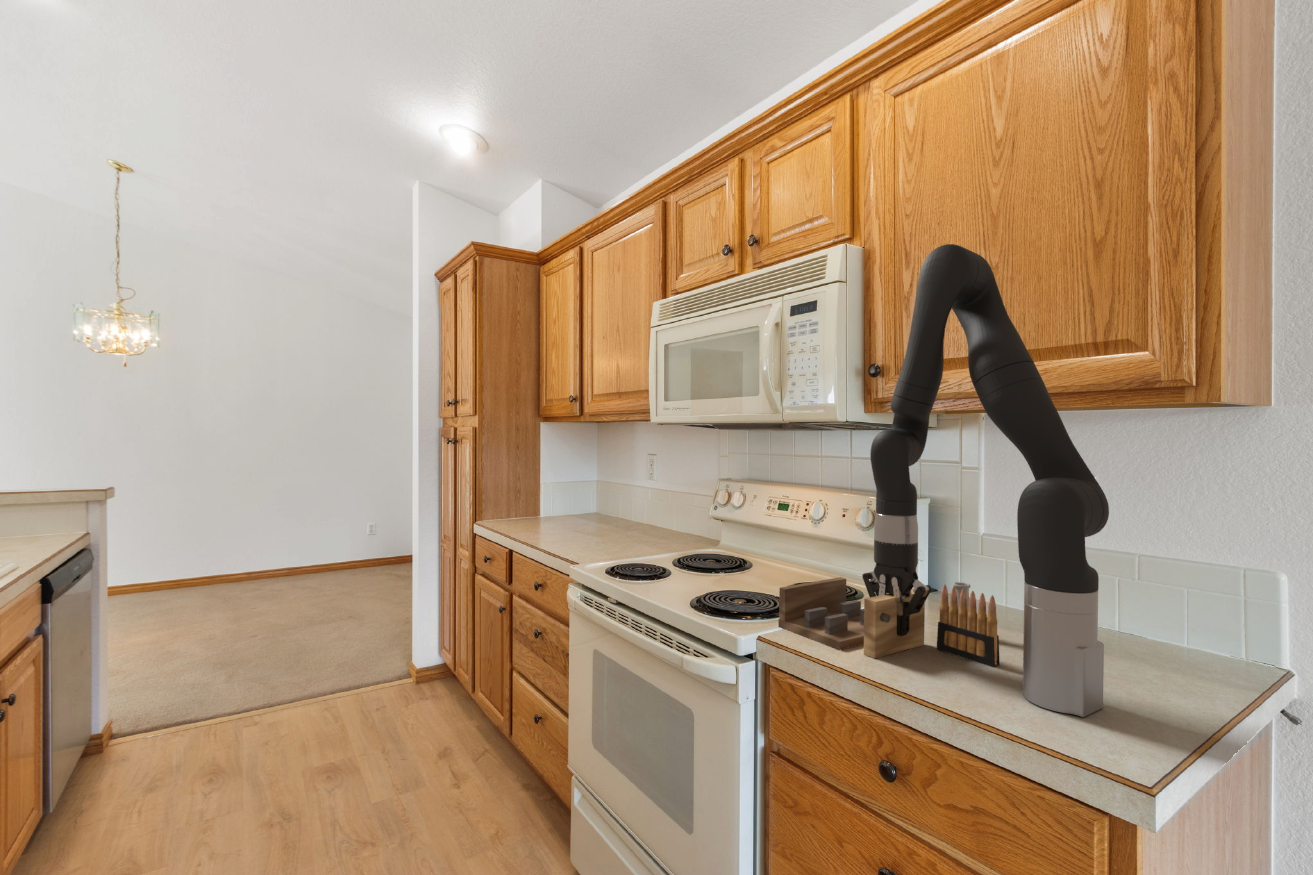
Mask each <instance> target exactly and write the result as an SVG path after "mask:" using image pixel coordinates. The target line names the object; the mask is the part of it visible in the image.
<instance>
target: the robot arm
mask: <svg viewBox="0 0 1313 875" xmlns="http://www.w3.org/2000/svg"><path fill="white" fill-rule="evenodd" d="M918 274H919V275H918V280H917V285H916V292H915V300H914V306H913V312H912V317H911V324H910V331H909V336H908V342H907V347H906V351H905V355H904V358H903V363H902V366H901V369H900V372H899V375H898V379H897V381H896V384H895V388H894V390H893V395H892V397H891V400H890V409H891V411H892V413H893V419H892V422H891V423H892V424H891V428H889V429H886V430H885V429H884V430H882V431H880V432H879V433H877V434H876V435H875V437H874V438H873V439H872V443H871V447H870V456H869V457H870V464H871V471H872V475H873V481H874V485H875V490H876V492H875V494H876V495H875V517H874V518H875V519H874V527H873V528H874V530H873V534H874V535H873V561H874V562H875V566H874V568H873V571H870V572H865V573H862V575H861V577H862V580H863V582H864V585H865V588H866V591H867V593H868V598H870V597H875V596H880V595H886V594H890V593H892V594H894V598H895V602H896V603H897V613H898V615H897V635H899V636H904V635H906V634H907V633H908V632H909V624H910V615H911V614H915V613H919V612H920V610H921V609H922V607H923V605H924V603H925V604H926V600H927V599H928V597H929V595H930V594H931V592H932V586H931V584H925V583H923V582H922V581H920V580H919V576H918V573H917V566H918V564H919V524H918V523H919V522H918V491H917V487H916V485H915V484H913V482H911V476H910V475H911V473H910V467H911V466H914V465H915V464H916V463H917V462H918V461H919V460H920V459H921V457H922V455H923V452H924V451H925V447H926V443H927V438H928V433H929V426H930V415H931V413H932V410H933V407H934V404H935V402H936V399H937V396H938V394H939V389H940V386H941V384H942V380H943V375H944V366H945V365H944V363H945V362H944V358H945V356H944V353H945V352H944V350H945V348H944V344H945V342H944V341H945V334H946V326H947V323H948V318H949V316H950V313H951V311H953V313H954V314H955V316H956V318H957V320H958V322H959V324H960V326H961V327H962V330H963V332H964V334H965V336H966V342H967V359H968V360H967V362H968V363H967V364H968V372H969V376H970V377H969V378H970V380H971V383H972V387H974V391H975V393H976V394H977V397H978V399H979V401H980V404H981V406H982V407H983V409H984V411H985V413H986V414H987V416H988V417H989V419H990V420H991V421H992V422H993V424H994V425H995V426H996V427H997V428H998V430H999V431H1000V432H1001V433H1002V434H1003V435H1004V436H1005V437H1006V438H1007V439H1008V440H1009V441H1010V442H1011V443H1012V444H1013V445H1014V447H1015V448H1016V449H1017V450H1018V451H1019V452H1020V454H1021V455H1022V456H1023V457H1024V459H1025V461H1026V464H1027V465H1028V466H1029V468H1030V470H1031V473H1032V476H1033V477H1034V481H1033V482H1030V483H1029V484H1028V485H1026V487H1025V488H1024V489H1023V491H1022V492H1021V494H1020V496H1019V500H1018V505H1017V520H1016V522H1017V545H1018V546H1017V548H1018V550H1017V552H1018V558H1019V563H1020V565H1021V567H1022V570H1023V575H1024V579H1023V580H1024V581H1023V582H1024V585H1023V587H1024V589H1023V592H1024V593H1023V647H1022V648H1023V649H1022V650H1023V651H1022V656H1023V657H1022V660H1023V661H1022V668H1023V669H1022V695H1023V697H1024V698H1025V699H1026V700H1027V701H1028V702H1030V703H1032V704H1033V705H1036V706H1038V707H1041V708H1044V709H1046V710H1050V711H1054V712H1058V713H1061V714H1062V713H1063V714H1069V715H1074V716H1075V715H1076V716H1078V717H1081V718H1084V717H1087V716H1089V715H1091V714H1093V713H1095V712H1097V711H1099V710H1102V709H1103V708H1104V678H1105V677H1104V676H1105V675H1104V672H1105V671H1104V665H1105V661H1104V660H1105V655H1104V654H1105V644H1104V642H1102V641H1100V640H1098V639H1099V638H1098V635H1099V634H1098V632H1099V630H1098V629H1099V624H1098V623H1099V587H1100V586H1099V583H1100V582H1099V573H1098V571H1097V570H1096V569H1095V568H1094V567H1092V566H1091V565H1090V564H1089V563H1088V559H1087V554H1086V551H1087V550H1086V538H1087V537H1092V536H1095V535H1097V534H1098V533H1100V532H1101V531H1102V530H1103V529H1104V528H1105V526H1106V525H1107V523H1108V520H1109V517H1110V506H1109V502H1108V499H1107V496H1106V494H1105V492H1104V490H1103V489H1102V487H1101V485H1100V483H1099V482H1098V480H1097V479H1096V477H1095V476H1094V474H1093V472H1092V471H1091V470H1090V468H1089V467H1088V465H1087V464H1086V462H1085V461H1084V459H1083V458H1082V455H1081V454H1080V453H1079V451H1078V450H1077V448H1076V446H1075V444H1074V443H1073V441H1072V439H1071V437H1070V436H1069V433H1068V431H1067V429H1066V427H1065V425H1064V422H1063V420H1062V418H1061V415H1060V414H1059V411H1058V410H1057V408H1056V406H1055V404H1054V402H1053V399H1052V398H1051V395H1050V393H1049V392H1048V388H1047V387H1046V384H1045V382H1044V380H1043V378H1042V375H1041V374H1040V372H1039V370H1038V367H1037V366H1036V364H1035V362H1034V359H1033V358H1032V356H1031V355H1030V353H1029V351H1028V350H1027V347H1026V345H1025V343H1024V341H1023V339H1022V338H1021V336H1020V334H1019V332H1018V330H1017V327H1015V325H1014V323H1013V321H1012V319H1011V318H1010V315H1009V314H1008V312H1007V309H1006V306H1005V305H1004V304H1005V303H1004V301H1003V299H1002V295H1001V293H1000V289H999V287H998V283H997V280H996V277H995V275H994V272H993V269H992V267H991V265H990V263H989V262H988V261H987V260H986V259H985V257H983V256H982V255H981V254H979V253H976V252H974V251H972V250H970V249H967V248H966V247H964V246H962V245H961V246H960V245H958V244H954V243H952V244H951V243H948V244H943V245H940V246H939V247H938V246H937V247H936V248H935V249H933V250H932V251H931V252H930V253H929V254H928V255H927V256H926V257H925V260H924V261H923V263H922V264H921V268H920V271H919V273H918ZM911 589H914V590H913V593H914V595H913V597H912V593H911ZM902 595H904V597H902Z"/></svg>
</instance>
